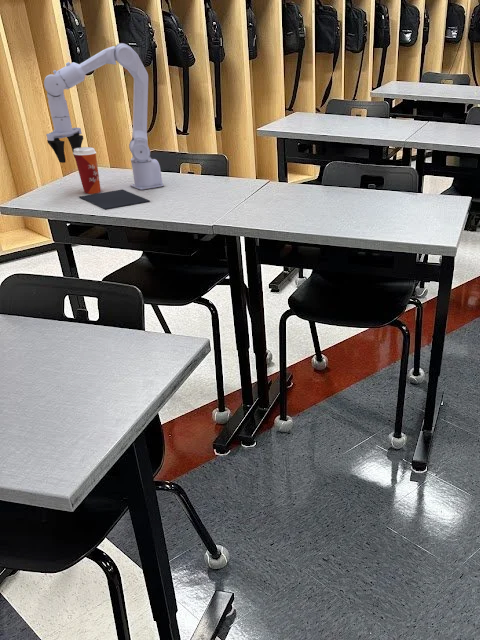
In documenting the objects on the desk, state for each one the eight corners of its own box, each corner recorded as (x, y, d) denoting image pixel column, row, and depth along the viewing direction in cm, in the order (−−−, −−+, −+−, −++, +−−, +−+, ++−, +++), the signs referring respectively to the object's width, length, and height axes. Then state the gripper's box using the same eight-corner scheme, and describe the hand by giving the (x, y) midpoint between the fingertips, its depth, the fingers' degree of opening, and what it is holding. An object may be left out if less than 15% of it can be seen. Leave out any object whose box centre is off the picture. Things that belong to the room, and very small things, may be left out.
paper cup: (99, 194, 229) (91, 151, 221) (78, 194, 229) (68, 150, 221) (106, 189, 236) (98, 146, 227) (85, 188, 236) (76, 146, 227)
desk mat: (122, 190, 234) (122, 189, 234) (149, 201, 222) (149, 200, 222) (79, 197, 226) (79, 196, 225) (105, 209, 214) (105, 208, 213)
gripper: (66, 112, 225) (75, 155, 233) (35, 118, 214) (46, 163, 222) (82, 114, 223) (91, 157, 231) (52, 120, 212) (62, 165, 220)
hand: (70, 160), depth 226 cm, fingers open, 7 cm apart
